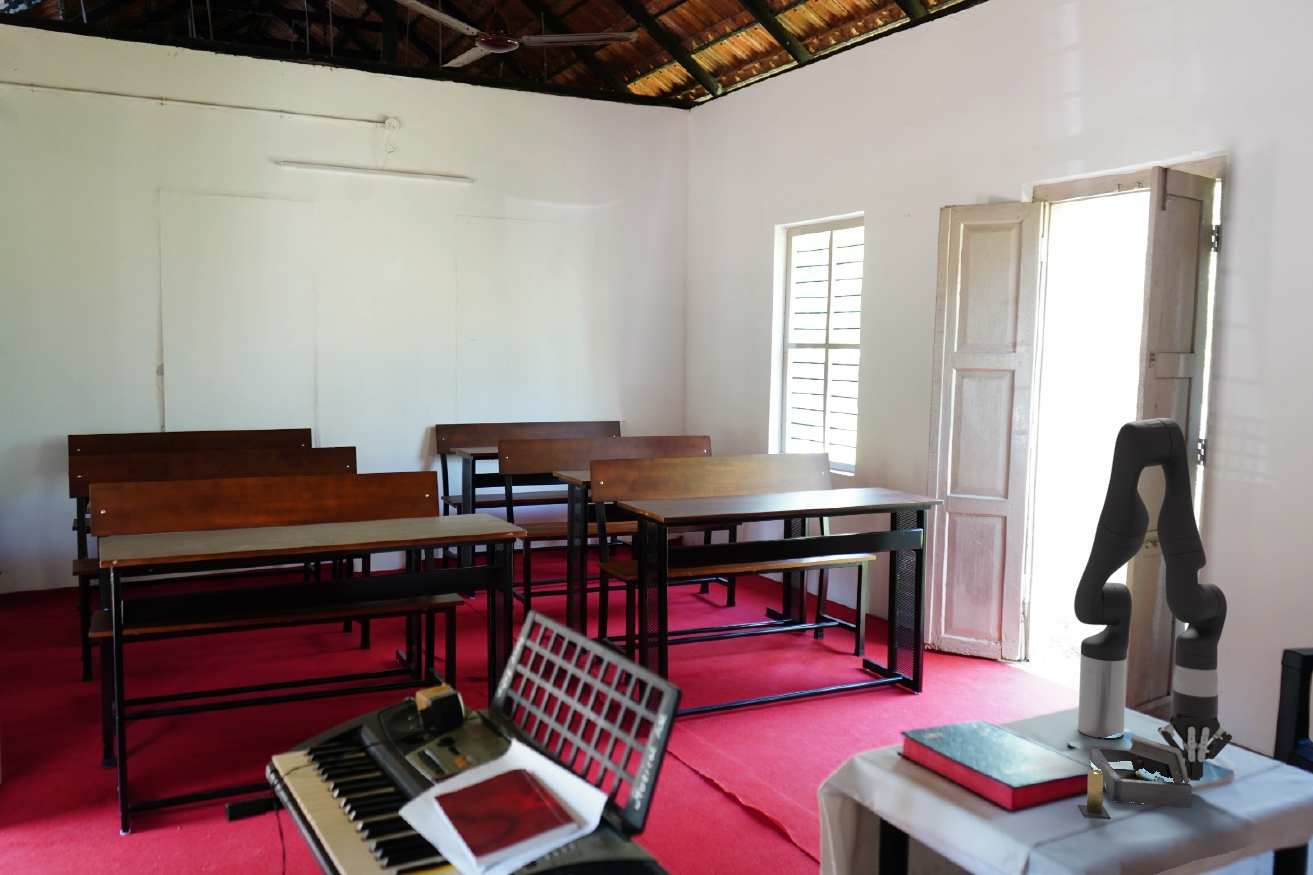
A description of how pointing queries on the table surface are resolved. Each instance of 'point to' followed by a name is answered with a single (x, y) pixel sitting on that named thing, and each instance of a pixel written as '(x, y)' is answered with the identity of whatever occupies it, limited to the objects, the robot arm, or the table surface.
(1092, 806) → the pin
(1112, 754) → the bracket
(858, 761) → the table surface
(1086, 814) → the pad
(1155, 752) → the electrical switch
